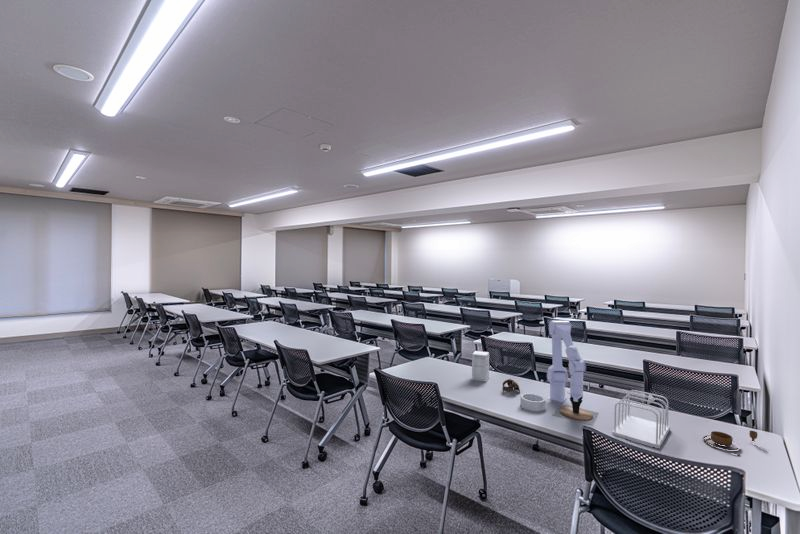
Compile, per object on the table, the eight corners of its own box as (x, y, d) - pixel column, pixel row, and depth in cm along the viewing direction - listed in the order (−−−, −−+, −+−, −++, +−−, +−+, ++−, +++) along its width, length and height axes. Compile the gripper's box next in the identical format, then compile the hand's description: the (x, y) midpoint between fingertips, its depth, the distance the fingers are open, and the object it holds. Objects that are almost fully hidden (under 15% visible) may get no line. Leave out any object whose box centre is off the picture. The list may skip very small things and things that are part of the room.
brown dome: (523, 396, 211) (517, 384, 209) (507, 402, 212) (501, 390, 210) (518, 383, 222) (512, 372, 220) (503, 389, 224) (497, 378, 222)
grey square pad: (561, 404, 197) (561, 404, 197) (599, 413, 187) (599, 412, 187) (552, 415, 183) (552, 415, 183) (592, 426, 172) (592, 425, 172)
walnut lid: (563, 405, 195) (563, 398, 195) (595, 413, 186) (595, 405, 186) (556, 414, 183) (556, 407, 183) (589, 423, 174) (589, 415, 174)
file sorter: (626, 418, 182) (627, 387, 181) (670, 430, 170) (671, 396, 169) (611, 435, 164) (612, 400, 164) (658, 450, 152) (660, 412, 151)
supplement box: (489, 377, 240) (489, 352, 240) (486, 382, 232) (487, 355, 232) (474, 375, 244) (475, 350, 244) (471, 379, 236) (471, 353, 236)
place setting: (697, 434, 167) (697, 421, 167) (755, 444, 159) (755, 430, 159) (710, 452, 151) (710, 438, 151) (775, 464, 143) (776, 449, 143)
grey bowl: (525, 400, 202) (525, 391, 202) (547, 406, 195) (548, 397, 195) (517, 407, 192) (517, 398, 192) (541, 413, 185) (541, 404, 185)
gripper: (568, 378, 193) (568, 404, 193) (566, 387, 180) (566, 414, 180) (583, 381, 189) (583, 407, 190) (583, 389, 177) (582, 417, 177)
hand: (575, 411), depth 185 cm, fingers closed on walnut lid, 3 cm apart
